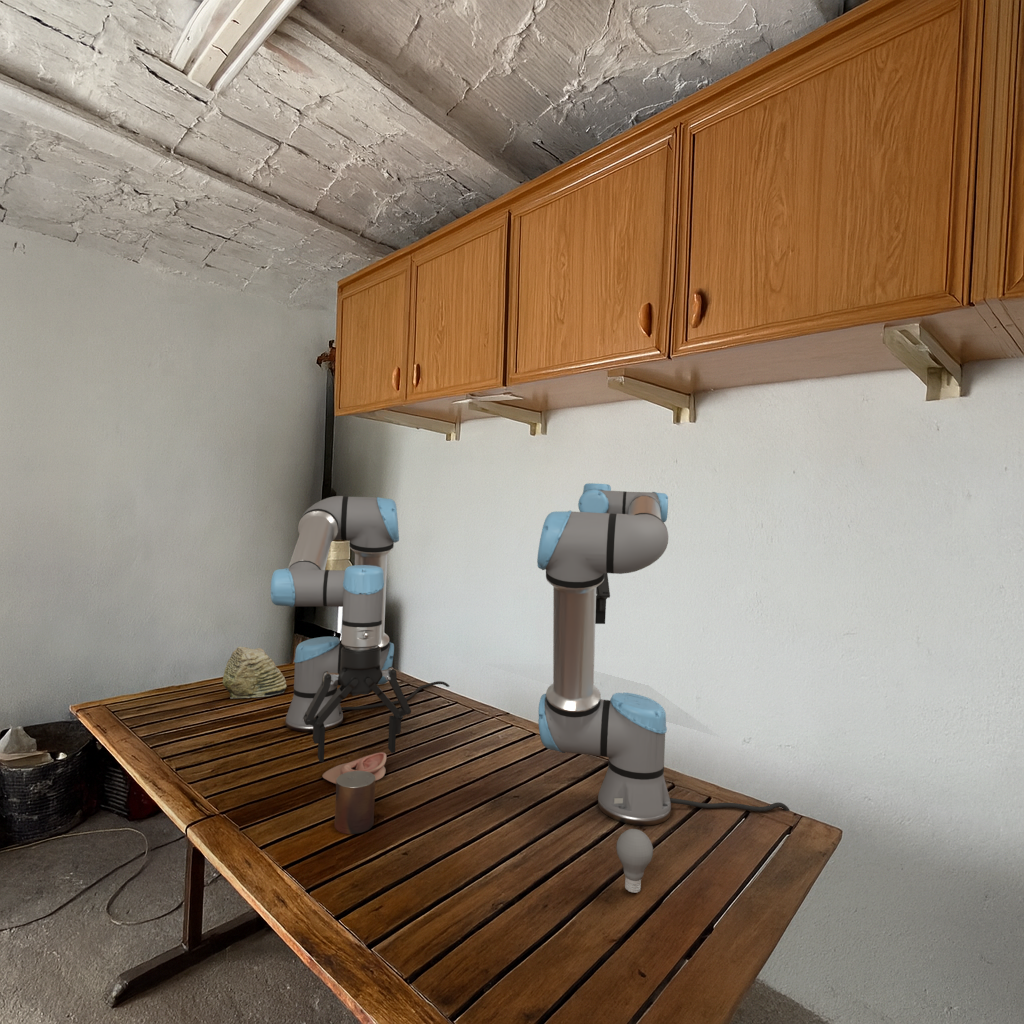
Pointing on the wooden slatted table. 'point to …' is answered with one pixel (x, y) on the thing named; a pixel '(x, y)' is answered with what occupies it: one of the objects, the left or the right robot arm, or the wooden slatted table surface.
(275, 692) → the fossil
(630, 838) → the light bulb
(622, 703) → the right robot arm
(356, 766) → the anatomical model
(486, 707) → the wooden slatted table surface
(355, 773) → the canister
